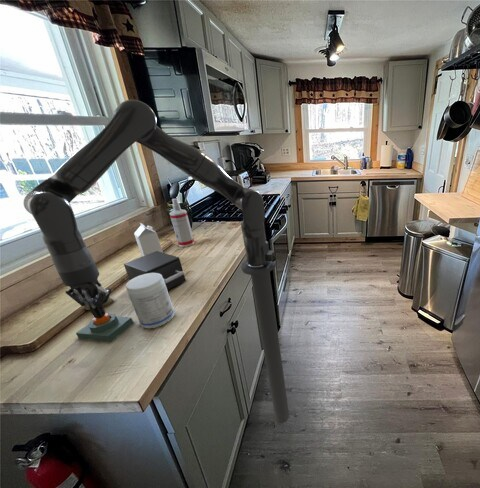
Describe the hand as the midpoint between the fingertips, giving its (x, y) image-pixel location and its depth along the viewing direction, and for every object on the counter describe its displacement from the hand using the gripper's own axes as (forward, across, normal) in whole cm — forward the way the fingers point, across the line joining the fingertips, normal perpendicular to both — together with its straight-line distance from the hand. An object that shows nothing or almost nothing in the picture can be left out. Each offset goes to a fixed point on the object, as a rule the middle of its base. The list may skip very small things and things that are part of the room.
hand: (100, 316), depth 76 cm
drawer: (+5, -1, -25) cm, 25 cm away
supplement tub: (+6, -12, -6) cm, 15 cm away
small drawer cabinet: (+6, +3, -26) cm, 27 cm away
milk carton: (+6, +19, -43) cm, 47 cm away
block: (+6, 0, 0) cm, 6 cm away
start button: (+2, 0, 0) cm, 2 cm away
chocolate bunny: (+6, +15, -11) cm, 19 cm away
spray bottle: (+6, +18, -65) cm, 68 cm away
